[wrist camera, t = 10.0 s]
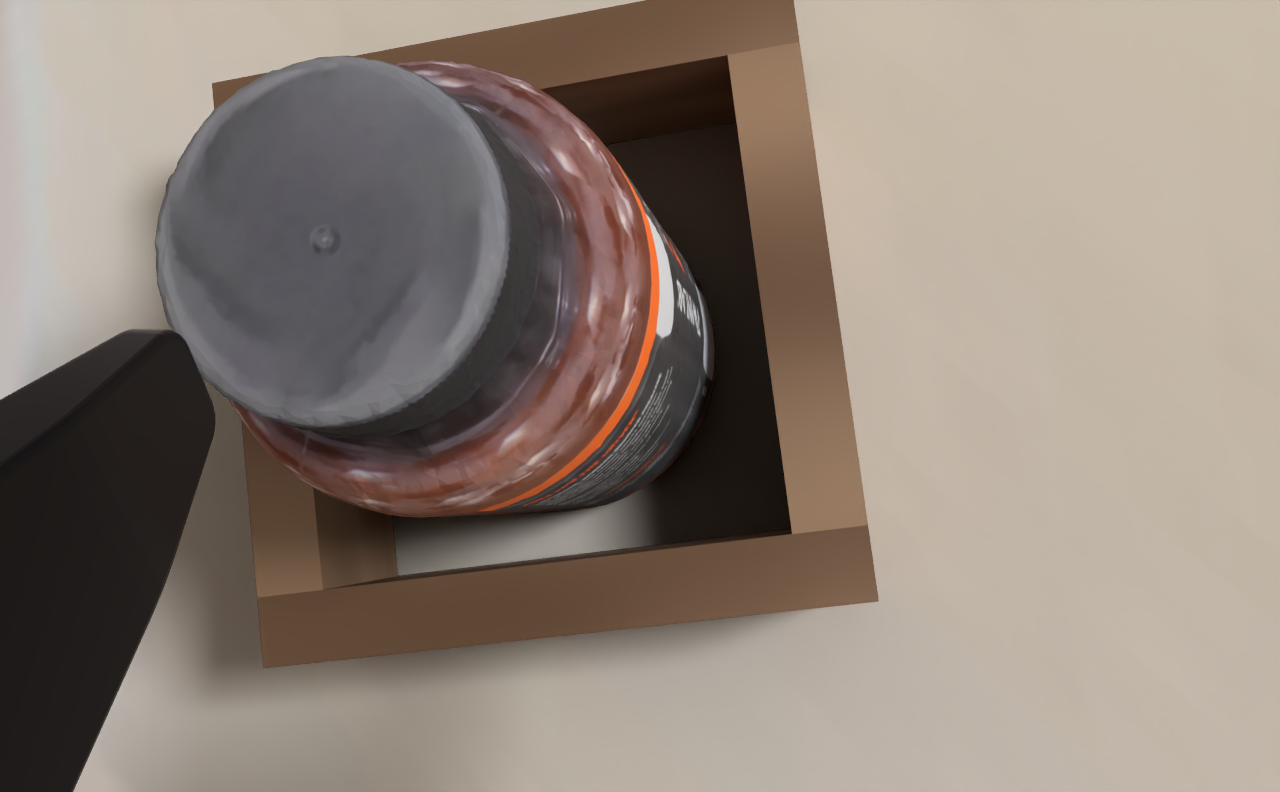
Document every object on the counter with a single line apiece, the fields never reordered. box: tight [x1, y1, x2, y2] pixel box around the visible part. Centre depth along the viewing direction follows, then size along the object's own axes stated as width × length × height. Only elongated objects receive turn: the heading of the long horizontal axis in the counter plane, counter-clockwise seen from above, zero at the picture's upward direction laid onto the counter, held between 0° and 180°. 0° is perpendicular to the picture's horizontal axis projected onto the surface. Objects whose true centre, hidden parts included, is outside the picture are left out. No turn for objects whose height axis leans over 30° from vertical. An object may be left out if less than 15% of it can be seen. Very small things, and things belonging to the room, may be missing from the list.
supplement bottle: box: [155, 56, 716, 517], centre depth 18 cm, size 6×6×11 cm
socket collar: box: [212, 0, 878, 668], centre depth 22 cm, size 10×10×4 cm
